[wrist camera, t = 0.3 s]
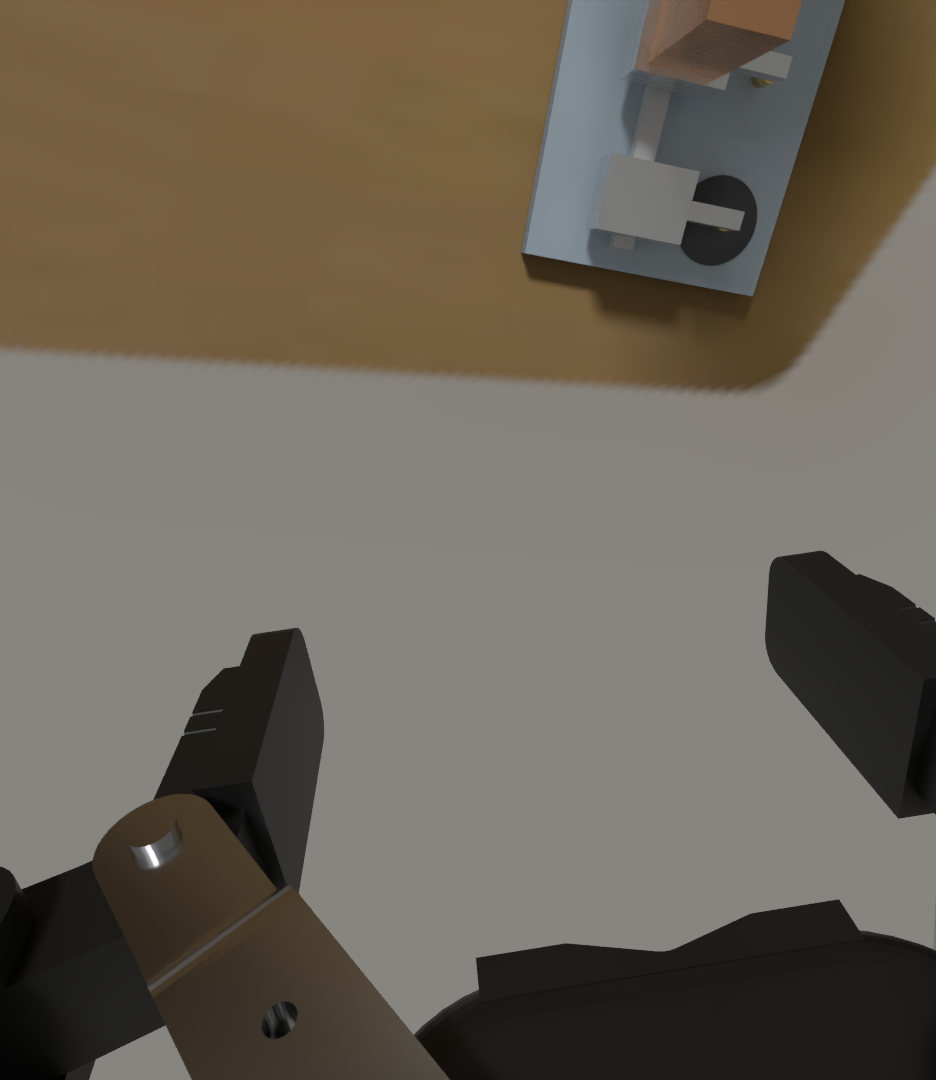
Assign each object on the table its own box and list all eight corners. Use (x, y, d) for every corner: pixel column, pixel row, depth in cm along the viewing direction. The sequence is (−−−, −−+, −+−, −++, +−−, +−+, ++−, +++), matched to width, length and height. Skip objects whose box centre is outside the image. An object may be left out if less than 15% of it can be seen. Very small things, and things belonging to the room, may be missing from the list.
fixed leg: (598, 159, 32) (612, 152, 30) (737, 189, 33) (762, 184, 31) (582, 229, 33) (596, 228, 31) (717, 256, 34) (740, 257, 32)
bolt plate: (622, -291, 27) (638, -330, 25) (895, -206, 29) (929, -237, 27) (521, 252, 35) (527, 253, 33) (742, 294, 36) (760, 297, 34)
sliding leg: (632, 2, 30) (717, -89, 21) (781, 39, 31) (916, -34, 22) (614, 83, 31) (689, 26, 23) (759, 116, 32) (879, 73, 24)
